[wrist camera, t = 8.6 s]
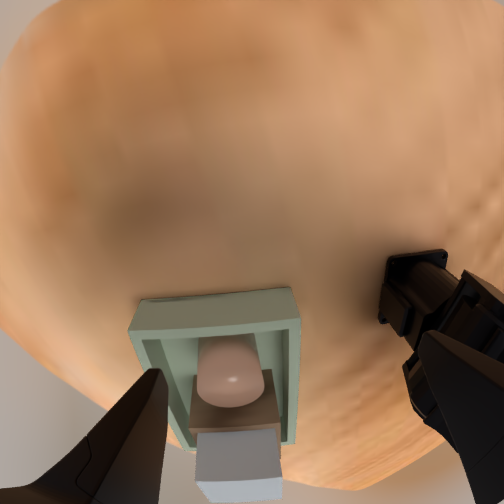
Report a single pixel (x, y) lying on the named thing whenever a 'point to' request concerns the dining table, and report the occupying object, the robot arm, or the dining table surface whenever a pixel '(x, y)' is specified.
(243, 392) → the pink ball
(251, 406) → the walnut block
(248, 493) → the gray block
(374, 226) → the dining table surface
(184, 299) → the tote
